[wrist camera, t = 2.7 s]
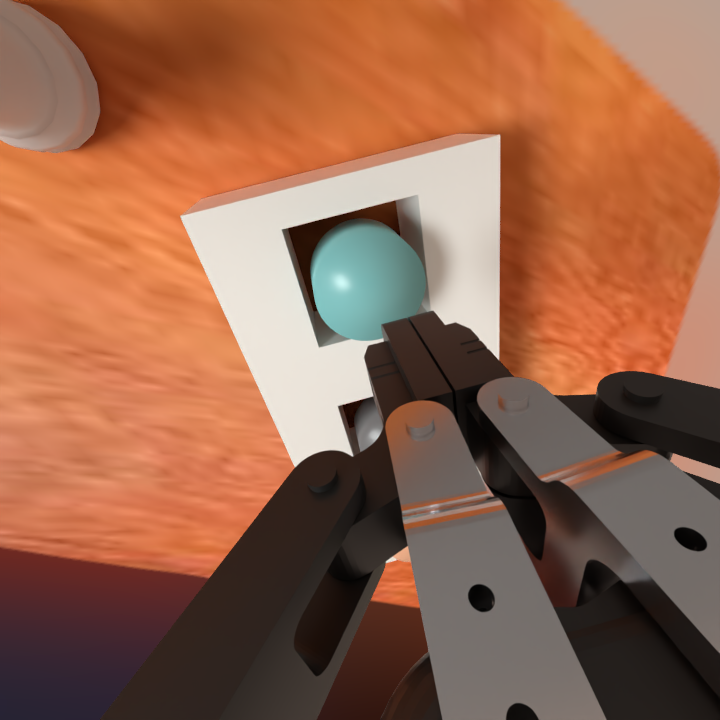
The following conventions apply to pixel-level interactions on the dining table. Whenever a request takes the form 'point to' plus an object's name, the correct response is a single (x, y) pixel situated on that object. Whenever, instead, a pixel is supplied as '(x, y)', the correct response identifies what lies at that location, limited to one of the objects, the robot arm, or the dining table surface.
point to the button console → (288, 291)
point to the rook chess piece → (43, 84)
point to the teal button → (365, 278)
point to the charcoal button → (367, 423)
